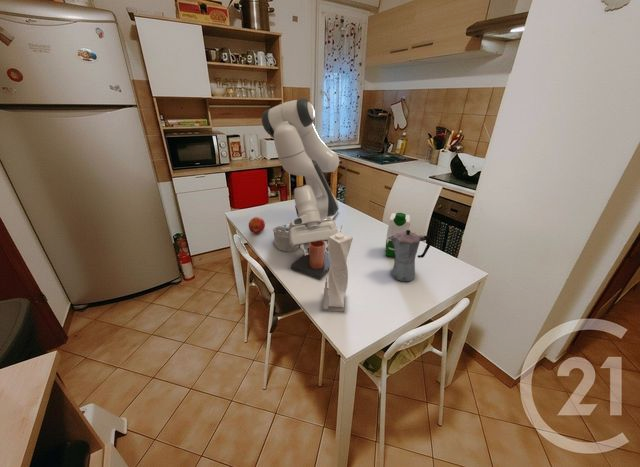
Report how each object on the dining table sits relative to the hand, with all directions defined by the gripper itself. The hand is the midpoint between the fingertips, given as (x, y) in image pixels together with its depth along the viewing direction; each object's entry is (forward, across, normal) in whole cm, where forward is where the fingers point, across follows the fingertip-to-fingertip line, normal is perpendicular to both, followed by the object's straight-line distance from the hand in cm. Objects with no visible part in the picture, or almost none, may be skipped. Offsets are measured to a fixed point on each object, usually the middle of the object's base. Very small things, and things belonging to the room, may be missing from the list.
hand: (318, 253), depth 104 cm
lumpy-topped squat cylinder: (-11, +7, -22) cm, 26 cm away
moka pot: (+16, -31, +5) cm, 35 cm away
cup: (+4, 0, -4) cm, 6 cm away
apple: (-23, +19, -34) cm, 46 cm away
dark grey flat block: (+3, 0, -8) cm, 8 cm away
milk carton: (+5, -37, -6) cm, 38 cm away
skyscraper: (+20, +1, +9) cm, 22 cm away
